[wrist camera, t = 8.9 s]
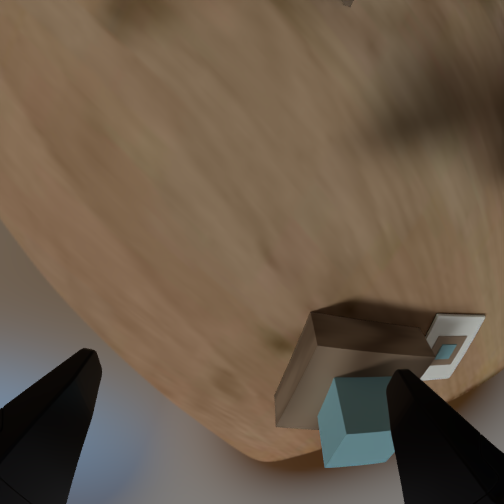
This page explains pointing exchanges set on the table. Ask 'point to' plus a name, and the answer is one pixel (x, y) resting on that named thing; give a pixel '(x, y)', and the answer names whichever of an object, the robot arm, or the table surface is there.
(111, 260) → the table surface
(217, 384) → the table surface
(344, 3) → the clay tablet
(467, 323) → the card
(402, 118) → the table surface
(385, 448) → the teal cube
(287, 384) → the walnut block
